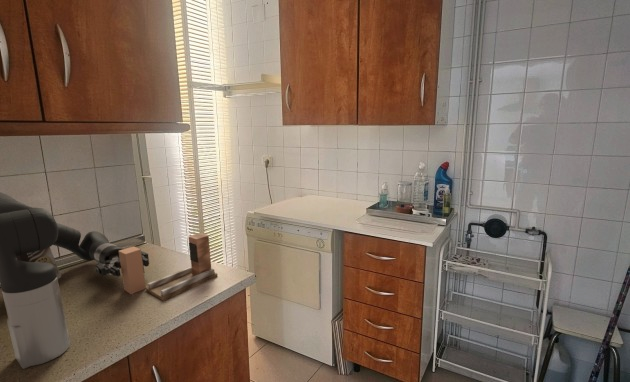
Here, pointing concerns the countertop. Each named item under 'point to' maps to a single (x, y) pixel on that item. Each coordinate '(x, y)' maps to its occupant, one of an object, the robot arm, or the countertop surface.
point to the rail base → (187, 271)
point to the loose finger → (132, 269)
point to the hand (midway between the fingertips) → (133, 268)
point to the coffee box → (40, 258)
